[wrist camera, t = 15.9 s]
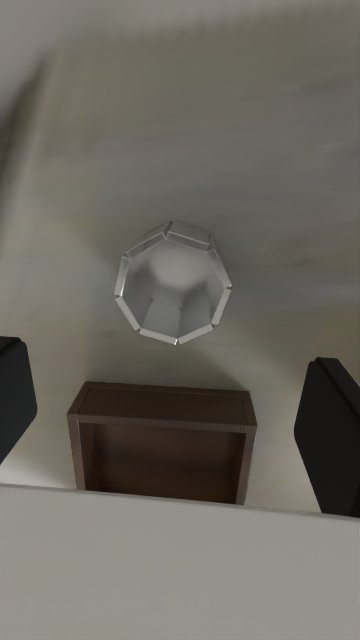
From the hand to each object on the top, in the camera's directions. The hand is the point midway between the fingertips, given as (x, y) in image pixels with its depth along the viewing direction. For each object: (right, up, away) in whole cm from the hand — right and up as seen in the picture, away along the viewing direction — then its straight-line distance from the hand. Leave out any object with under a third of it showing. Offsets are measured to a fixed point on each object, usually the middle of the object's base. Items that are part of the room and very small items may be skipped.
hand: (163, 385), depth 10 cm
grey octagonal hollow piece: (0, +6, +13) cm, 14 cm away
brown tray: (-1, -11, +21) cm, 23 cm away
